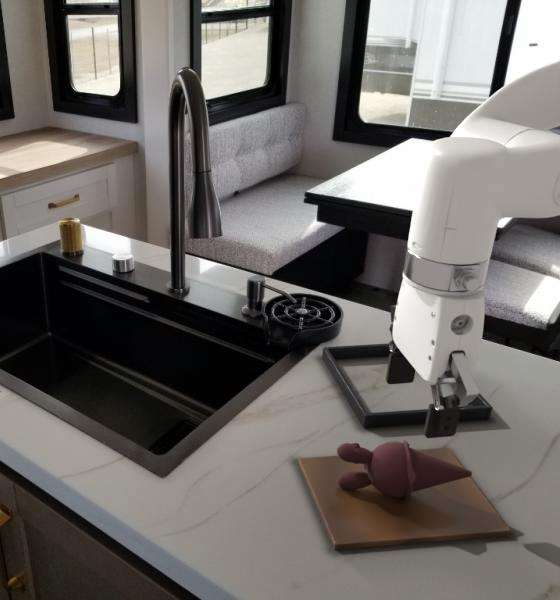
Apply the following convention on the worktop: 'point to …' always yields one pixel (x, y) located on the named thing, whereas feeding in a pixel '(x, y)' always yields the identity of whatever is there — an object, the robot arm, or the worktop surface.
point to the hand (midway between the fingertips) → (417, 407)
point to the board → (398, 508)
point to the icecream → (396, 469)
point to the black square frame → (393, 418)
